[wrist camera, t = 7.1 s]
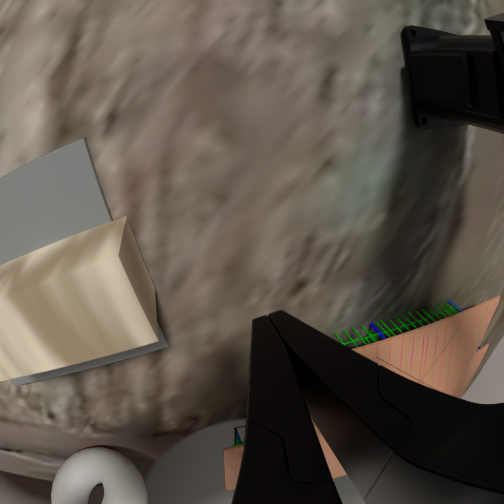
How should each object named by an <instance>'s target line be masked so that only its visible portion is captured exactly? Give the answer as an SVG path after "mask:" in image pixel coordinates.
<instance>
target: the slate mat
mask: <svg viewBox="0 0 504 504" xmlns="http://www.w3.org/2000/svg"><path fill="white" fill-rule="evenodd" d="M111 221H113V218H112V216H111V213H110V210H109V208H108V205H107V202H106V199H105V196H104V194H103V191H102V188H101V185H100V182H99V179H98V176H97V173H96V170H95V167H94V164H93V161H92V157H91V154H90V151H89V148H88V144H87V141H86V137H85V138H83V139H80V140H78V141H75V142H73V143H71V144H68V145H66V146H64V147H61V148H59V149H57V150H55V151H52V152H50V153H48V154H46V155H44V156H42V157H40V158H38V159H36V160H33V161H31V162H29V163H27V164H25V165H24V166H22V167H20V168H18V169H16V170H14V171H12V172H10V173H8V174H6V175H5V176H3V177H1V178H0V265H3V264H5V263H7V262H9V261H12V260H14V259H16V258H19V257H21V256H23V255H26V254H28V253H30V252H33V251H35V250H38V249H40V248H43V247H45V246H48V245H50V244H53V243H55V242H58V241H60V240H63V239H65V238H68V237H70V236H73V235H76V234H78V233H81V232H84V231H86V230H89V229H92V228H94V227H97V226H100V225H103V224H105V223H108V222H111ZM157 327H158V338H159V341H158V342H154V343H151V344H147V345H144V346H140V347H137V348H133V349H130V350H126V351H123V352H119V353H116V354H112V355H108V356H104V357H101V358H97V359H93V360H89V361H85V362H82V363H78V364H74V365H70V366H66V367H61V368H57V369H53V370H49V371H45V372H40V373H36V374H31V375H27V376H22V377H18V378H13V379H11V380H12V382H13V383H14V384H15V385H21V384H26V383H31V382H35V381H40V380H44V379H49V378H53V377H58V376H62V375H66V374H70V373H74V372H78V371H82V370H86V369H90V368H94V367H98V366H102V365H106V364H110V363H113V362H117V361H121V360H124V359H128V358H131V357H135V356H139V355H142V354H146V353H149V352H152V351H156V350H159V349H163V348H166V347H168V342H167V340H166V338H165V336H164V334H163V332H162V330H161V328H160V326H159V324H158V322H157Z"/></svg>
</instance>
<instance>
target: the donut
mask: <svg viewBox="0 0 504 504" xmlns="http://www.w3.org/2000/svg"><path fill="white" fill-rule="evenodd" d="M101 482H102V484H103V487H104V499H103V501H102V504H147V491H146V488H145V485H144V481H143V478H142V476H141V474H140V473H139V471H138V470H137V468H136V467H135V465H134V464H133V463H132V462H131V461H130V460H129V459H127V458H126V457H125V456H123V455H122V454H121V453H119V452H117V451H115V450H111V449H107V448H104V447H93V448H86V449H84V450H81V451H79V452H77V453H75V454H73V455H72V456H71V457H70V458H68V459H67V460H66V461H65V462H64V463H63V465H62V466H61V467H60V469H59V470H58V472H57V474H56V477H55V479H54V482H53V486H52V493H51V498H52V504H88V497H89V494H90V492H91V490H92V488H93V487H94V486H95V485H97V484H98V483H101Z"/></svg>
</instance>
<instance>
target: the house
mask: <svg viewBox="0 0 504 504" xmlns="http://www.w3.org/2000/svg"><path fill="white" fill-rule="evenodd" d="M499 299H500V295H499V296H497V297H495V298H492V299H490V300H488V301H486V302H483V303H481V304H479V305H477V306H474V307H472V308H469V309H467V310H465V311H462V310H461V309H460V308H458V307H457V306H456V305H455V304H453V303H452V302H451V301H450V300H448V303H449V304H451V305H452V306H453V307H454V309H456V310H458V311H459V312H460V313H456V310H455V311H454V309H452V308H450V307H449V306H448V305H447V304H446V303H444V302H443V304H445V305H446V306H447V307H448V308H449V309H450V310H449V309H448V308H447V307H445V308H447V309H448V311H450V312H451V313H452V314H454V315H452V314H450V313H449V312H448V311H447V310H446V309H444V308H443V307H442V306H441V305H440V304H439V303H438V305H439V306H440V307H441V308H442V309H443V310H445V311H446V312H447V313H448V314H449V315H450V317H447V316H446V315H444V313H446V312H443V313H442V312H441V311H439V310H438V309H437V308H436V307H435V306H434V305H433V307H434V308H435V309H436V310H437V311H438V312H440V313H439V314H435V313H434V312H433V311H432V310H431V309H430V308H428V307H427V309H428V310H430V311H431V312H432V313H433V314H434V315H435V316H436V317H438V318H439V319H440V320H439V321H435V320H434V319H433V318H432V317H435V316H432V317H431V316H430V315H428V314H427V313H426V312H425V311H424V310H423V309H421V310H422V311H423V312H424V313H425V314H426V315H427V316H428V318H431V319H432V320H433V321H434V323H431V324H430V323H429V322H428V321H427V320H426V319H428V318H424V317H422V316H421V315H420V314H419V313H418V312H417V311H415V312H416V313H417V314H418V315H419V316H420V317H421V318H422V319H423V320H420V321H418V320H417V319H416V318H415V317H414V316H413V315H412V314H411V313H410V312H409V314H410V315H411V316H412V317H413V318H414V319H415V320H416V322H413V323H412V322H410V321H409V320H408V319H407V318H406V317H405V316H404V315H403V314H402V316H403V317H404V318H405V319H406V320H407V321H408V322H409V323H410V324H408V325H404V324H403V323H402V322H401V321H400V320H399V319H398V318H397V317H395V318H396V319H397V320H398V321H399V322H400V323H401V324H402V325H403V326H400V327H397V326H396V325H395V324H394V323H393V322H392V321H391V320H390V319H389V318H388V320H389V321H390V322H391V323H392V324H393V325H394V326H395V327H396V328H395V329H392V330H390V329H389V328H388V327H387V326H386V325H385V324H384V323H383V322H382V321H380V322H381V323H382V324H383V325H384V326H385V327H386V328H387V329H388V330H387V331H385V330H384V329H383V328H382V327H381V326H380V325H379V323H378V322H376V324H377V325H378V326H379V327H380V328H381V329H382V330H383V331H384V332H382V333H381V332H380V331H379V330H378V329H377V328H376V327H375V325H374V324H373V323H370V326H371V327H372V328H373V329H374V330H375V331H376V332H377V334H374V335H373V334H372V333H371V332H370V331H368V332H369V333H370V334H371V335H370V334H369V333H368V332H367V330H366V329H365V328H364V327H363V326H361V327H362V328H363V329H364V331H365V332H366V333H367V334H368V335H369V336H368V337H365V338H362V337H361V336H360V335H359V334H358V332H357V331H356V330H355V329H354V328H353V330H354V331H355V333H356V334H357V335H358V336H359V337H360V339H356V340H352V339H351V337H350V336H349V335H348V334H347V332H346V331H345V330H344V333H345V334H346V335H347V336H348V337H349V339H350V340H351V341H350V342H347V343H343V342H342V340H341V339H340V338H339V337H338V335H337V334H336V333H335V332H334V334H335V335H336V337H337V338H338V339H339V341H340V342H341V344H343V345H345V344H348V343H352V342H353V344H354V345H355V346H356V347H357V348H354V349H352V350H354V351H356V352H358V353H360V354H361V355H363V356H365V357H367V358H369V359H371V360H372V361H374V362H376V363H378V365H382V366H384V367H386V368H388V369H389V370H391V371H393V372H395V373H397V374H399V375H401V376H403V377H406V378H408V379H410V380H412V381H415V382H417V383H420V384H422V385H424V386H427V387H430V388H432V389H435V390H438V391H440V392H443V393H446V394H449V395H452V396H454V397H457V398H461V396H462V395H463V393H464V391H465V390H466V388H467V386H468V384H469V383H470V381H471V379H472V377H473V375H474V374H475V372H476V370H477V368H478V366H479V364H480V362H481V360H482V358H483V356H484V354H485V352H486V350H487V348H488V346H489V344H487V345H485V346H484V347H482V348H480V347H479V344H480V342H481V340H482V338H483V336H484V334H485V332H486V330H487V327H488V325H489V323H490V321H491V318H492V316H493V314H494V311H495V309H496V306H497V304H498V301H499ZM451 310H452V311H453V312H454V313H453V312H452V311H451ZM440 314H442V315H443V316H444V317H445V318H444V319H441V318H440V317H439V316H438V315H440ZM424 320H425V321H426V322H427V323H428V325H426V326H424V325H423V324H421V323H420V322H421V321H424ZM417 322H418V323H419V324H420V325H421V326H422V327H420V328H417V327H416V326H415V325H414V323H417ZM409 325H412V326H413V327H414V328H415V329H414V330H411V331H410V330H409V329H408V328H407V327H406V326H409ZM401 327H405V328H406V329H407V330H408V332H405V333H403V332H402V331H401V330H400V329H399V328H401ZM396 329H398V330H399V331H400V332H401V333H402V334H399V335H395V334H394V333H393V332H392V331H393V330H396ZM388 331H390V332H391V333H392V334H393V335H394V336H393V337H391V336H390V335H389V334H388V333H387V332H388ZM383 333H386V334H387V335H388V336H389V338H387V339H386V337H385V336H384V335H383ZM375 335H378V338H377V339H376V338H375ZM379 336H380V337H381V338H382V339H383V340H381V341H378V339H379ZM370 337H371V339H372V340H373V341H374V343H370V342H369V341H368V339H367V338H370ZM363 339H366V341H367V342H368V343H369V344H367V343H366V342H365V341H364V340H363ZM374 339H375V340H376V341H377V342H376V341H375V340H374ZM357 340H362V341H363V342H364V343H365V345H364V346H361V347H358V346H357V345H356V344H355V342H354V341H357ZM477 348H478V349H479V350H477ZM311 419H312V418H311ZM312 422H313V424H314V427H315V430H316V433H317V436H318V438H319V441H320V444H321V447H322V450H323V453H324V455H325V458H326V461H327V464H328V467H329V469H330V472H331V475H332V478H337V477H340V476H344V475H347V474H346V472H345V470H344V469H343V467H342V466H341V464H340V463H339V461H338V460H337V458H336V456H335V455H334V453H333V452H332V450H331V448H330V447H329V445H328V444H327V442H326V441H325V439H324V437H323V436H322V434H321V433H320V431H319V429H318V428H317V426H316V425H315V423H314V421H313V420H312ZM245 426H246V425H245ZM245 426H240V427H245ZM240 427H235V428H234V445H232V447H230V448H224V449H223V456H224V470H225V471H224V472H225V488H226V491H228V490H235V487H236V483H237V479H238V475H239V470H240V465H241V460H242V454H243V447H244V442H241V439H240V436H239V434H238V431H237V428H240ZM237 437H238V438H237Z"/></svg>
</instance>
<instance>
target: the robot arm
mask: <svg viewBox="0 0 504 504" xmlns="http://www.w3.org/2000/svg"><path fill="white" fill-rule="evenodd" d="M484 21H485V24H486V27H487V29H488V30H489V31H490V33H491V36H487V35H456V34H452V33H447V32H443V31H439V30H434V29H429V28H424V27H418V26H412V25H411V26H405V27H404V28H403V36H404V41H405V47H406V53H407V59H408V66H409V73H410V81H411V89H412V99H413V110H414V121H415V125H416V126H417V127H418V128H422V129H429V128H437V127H446V126H455V125H466V124H468V125H472V126H476V127H480V128H484V129H488V130H491V131H495V132H498V133H502V134H504V13H502V14H499V15H495V16H492V17H489V18H486V19H484ZM410 32H411V33H410ZM411 34H412V35H411ZM311 418H312V419H311ZM246 419H247V420H246V426H245V438H244V447H243V454H242V460H241V465H240V470H239V475H238V479H237V483H236V487H235V492H234V495H233V499H232V503H231V504H343V503H342V501H341V499H340V497H339V494H338V492H337V489H336V487H335V484H334V482H333V478H332V475H331V472H330V469H329V467H328V464H327V461H326V458H325V455H324V453H323V450H322V447H321V444H320V441H319V438H318V436H317V433H316V430H315V427H314V424H313V422H312V420H313V421H314V423H315V425H316V426H317V428H318V429H319V431H320V433H321V434H322V436H323V437H324V439H325V441H326V442H327V444H328V445H329V447H330V448H331V450H332V452H333V453H334V455H335V456H336V458H337V460H338V461H339V463H340V464H341V466H342V467H343V469H344V470H345V472H346V474H347V475H348V476H349V478H350V480H351V481H352V483H353V484H354V486H355V487H356V489H357V490H358V492H359V493H360V495H361V496H362V498H363V499H365V500H364V501H365V503H366V504H504V403H497V404H479V403H473V402H469V401H466V400H463V399H460V398H457V397H454V396H452V395H449V394H446V393H443V392H440V391H438V390H435V389H432V388H430V387H427V386H424V385H422V384H420V383H417V382H415V381H412V380H410V379H408V378H406V377H403V376H401V375H399V374H397V373H395V372H393V371H391V370H389V369H388V368H386V367H384V366H382V365H378V363H376V362H374V361H372V360H371V359H369V358H367V357H365V356H363V355H361V354H360V353H358V352H356V351H354V350H352V349H350V348H349V347H347V346H345V345H343V344H341V343H340V342H338V341H336V340H334V339H332V338H331V337H329V336H327V335H325V334H323V333H322V332H320V331H318V330H316V329H315V328H313V327H311V326H309V325H307V324H306V323H304V322H302V321H300V320H299V319H297V318H295V317H293V316H292V315H290V314H288V313H287V312H285V311H283V310H278V311H276V312H273V313H270V314H268V316H266V315H264V316H261V317H258V318H255V319H253V321H252V334H251V350H250V366H249V382H248V398H247V414H246Z"/></svg>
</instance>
